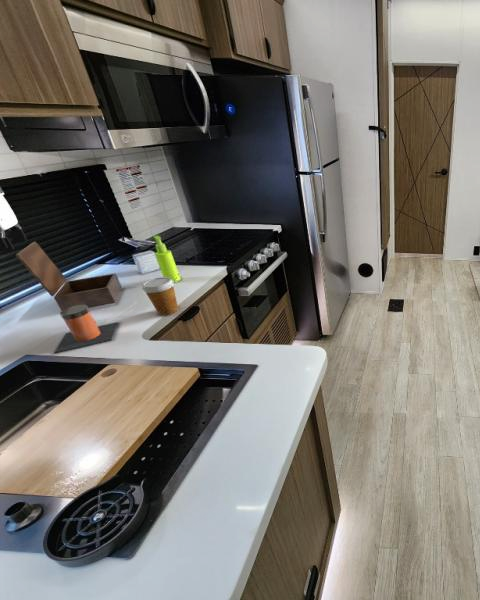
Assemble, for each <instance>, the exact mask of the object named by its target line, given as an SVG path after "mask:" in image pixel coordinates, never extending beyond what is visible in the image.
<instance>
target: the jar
mask: <svg viewBox="0 0 480 600" xmlns="http://www.w3.org/2000/svg"><path fill="white" fill-rule="evenodd" d="M59 315H60V317H61V318H62V319H63V322H64V323H65V324H66V326H67V328H68V330H69V331H70V332H71V333H72V335H73V337H74V338H75V340H76V341H78V342H83V341H88V340H91V339H93V338H95V337H97V336H99V335H100V333H101V332H100V330H99V328H98V326H99V325H98V324H97V322H96V320H95V318H94V317H93V315H92V312H91V311H90V308H88V306H87V305H76V306H72V307H69V308H66V309H64V310H63V311H61V310H60V312H59Z"/></svg>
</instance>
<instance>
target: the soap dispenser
mask: <svg viewBox="0 0 480 600" xmlns="http://www.w3.org/2000/svg"><path fill="white" fill-rule="evenodd" d="M152 238H153V239H154V240H155V242H156V244H155V245H154V246H155V249H156V251H155V256H156V259H157V261H158V264H159V267H160V269H159V270H160V272H161V274H162V277H169V278H171V280H172V281H174V283H177V282H179V281H181V280H182V279H181V275H180V273H179V270H178V267H177V264H176V261H175V259H174V256H173V253H172V251H171V250H170V249H167V246H166V243H163V242H162V237H161V236H160V235H153V236H152Z"/></svg>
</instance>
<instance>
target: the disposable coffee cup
mask: <svg viewBox="0 0 480 600" xmlns="http://www.w3.org/2000/svg"><path fill="white" fill-rule="evenodd" d="M174 283H175V282H174V281H172V280H171V278H169V277H163V276H160V277H155V278H151V279H149V280H146V281H144V282H143V283H142V288H141V289H142V291H143V292H144V293H145V294H146V295H147V297H148V299H149V300H150V302H151V304H152V306H153V308H154V309H155V310H156V312H157V314H158V315H160V316H168V315H171V314H174V313H177V311H178V310H179V306H178V302H177V296H176V291H175V286H174V285H175V284H174Z"/></svg>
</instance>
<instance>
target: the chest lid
mask: <svg viewBox="0 0 480 600" xmlns="http://www.w3.org/2000/svg"><path fill="white" fill-rule="evenodd" d="M15 257H16V258H17V259H18V260H19V261H20V262H21V264H22V265H23V266H24V267H25V268H26V269H27V270H28V271H29V273H30V274H31V275H32V276H33V277H34V278H35V280H36V281H37V282H38V283H39V284H40V285H41V286H42V287H43V288H44V290H45V291H46V292H47V293H48V294H49V296H50V297H54V296H55V295H56V294H57V293H58V291H59V290H60V289H61V288H62V286H63V285H64V284H65V283H66V281H68V279H67V278H66V276H64V274H63V273H62V272H61V270H60V269H59V268H58V266H57V265H56V264H55V263H54V262H53V261H52V259H51V258H50V257H49V256H48V255H47V253H46V252H45V251H44V250H43V249H42V247H41V246H40V245H39V244H38V242H36V241H33V242H31V243H30V244H28V246H26V247H24V248H23V249H22V250H20V251H19V252H18V253H16V254H15Z"/></svg>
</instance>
